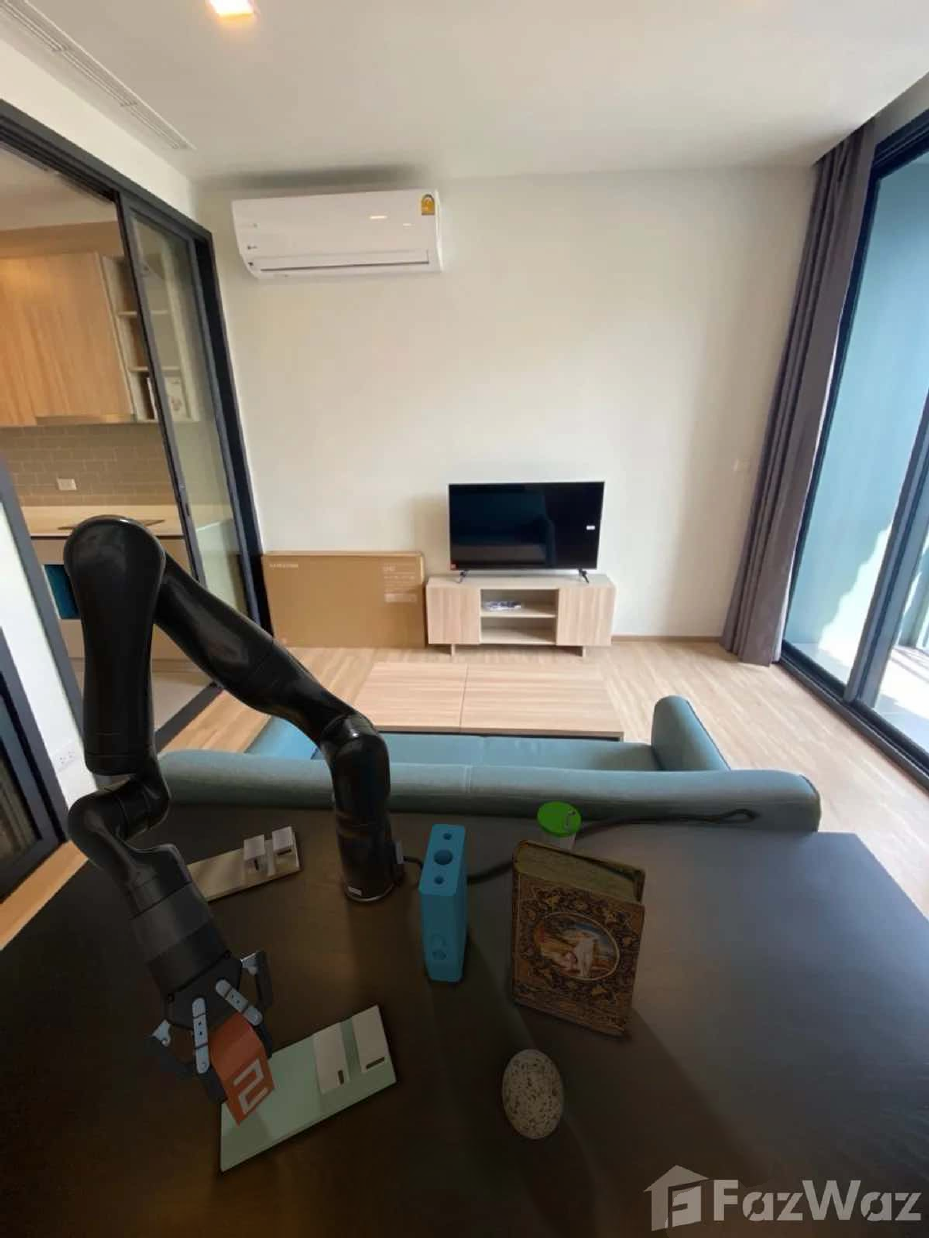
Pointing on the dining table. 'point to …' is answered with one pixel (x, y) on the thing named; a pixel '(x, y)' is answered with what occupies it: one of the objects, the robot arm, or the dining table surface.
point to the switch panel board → (312, 1085)
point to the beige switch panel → (247, 865)
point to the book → (575, 934)
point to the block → (444, 903)
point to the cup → (558, 824)
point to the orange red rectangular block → (240, 1066)
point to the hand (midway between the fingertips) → (246, 1077)
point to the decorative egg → (532, 1094)
